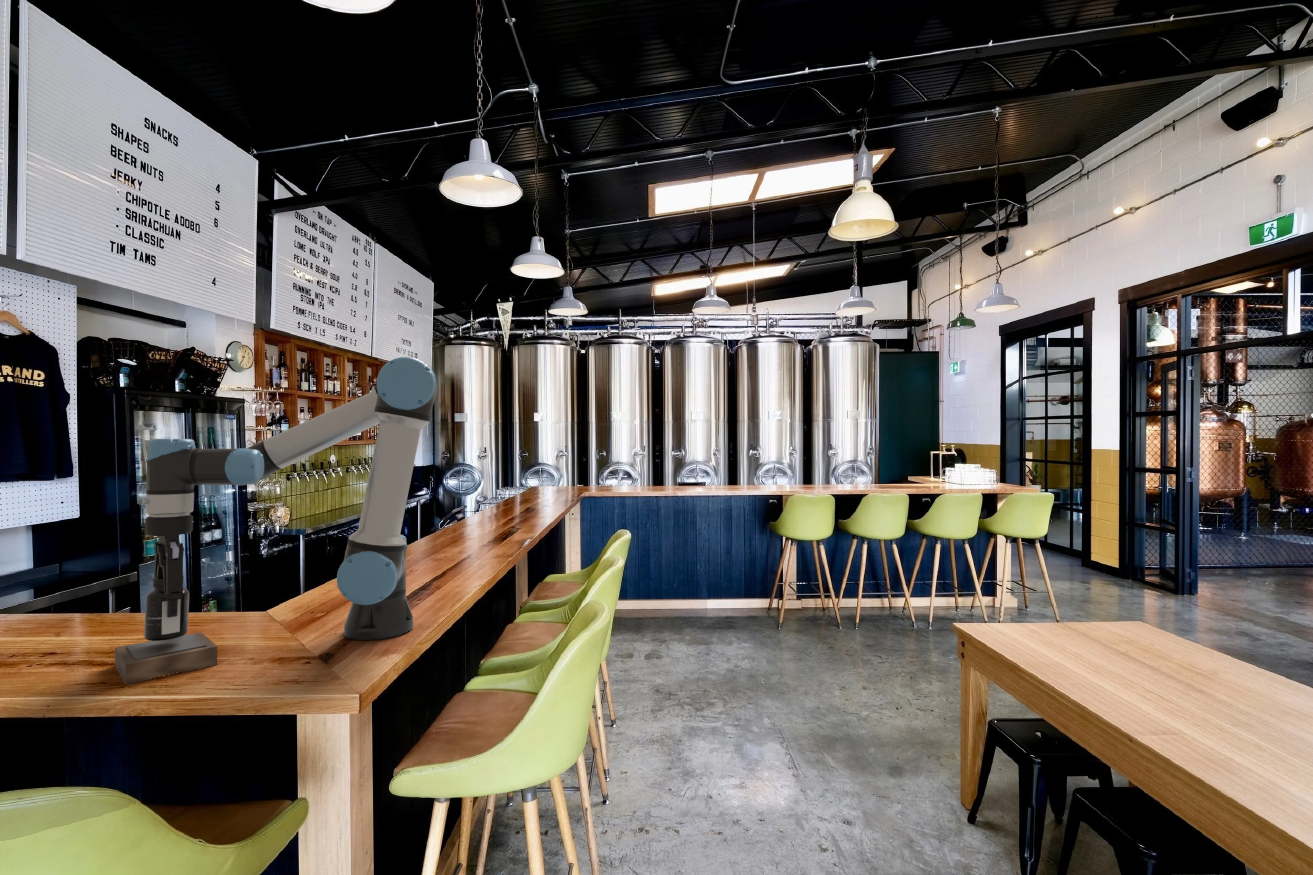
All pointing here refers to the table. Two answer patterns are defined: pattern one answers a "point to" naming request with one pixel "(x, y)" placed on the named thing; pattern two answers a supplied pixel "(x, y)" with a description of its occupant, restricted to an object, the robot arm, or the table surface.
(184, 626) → the supplement bottle
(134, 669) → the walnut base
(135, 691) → the table surface
